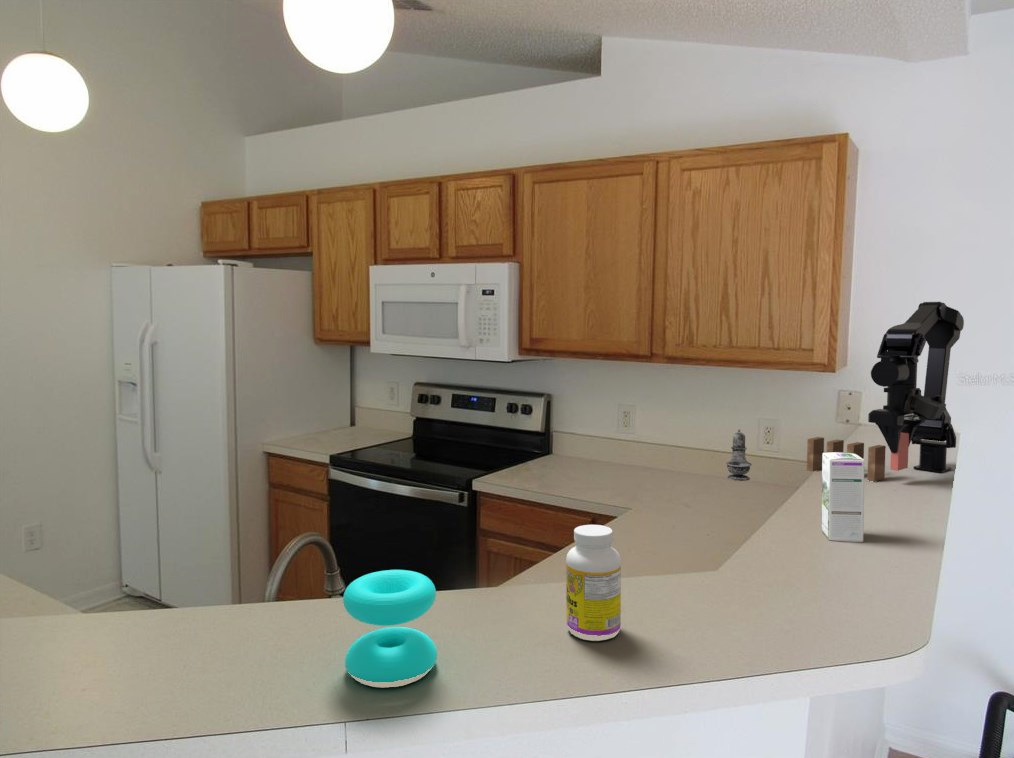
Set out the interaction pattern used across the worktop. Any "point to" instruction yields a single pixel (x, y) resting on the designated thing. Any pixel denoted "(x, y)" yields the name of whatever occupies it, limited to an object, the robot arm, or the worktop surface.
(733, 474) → the salt shaker
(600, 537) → the supplement bottle
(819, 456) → the domino
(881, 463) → the domino
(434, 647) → the teal rings
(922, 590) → the worktop surface
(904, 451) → the domino
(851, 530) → the syrup box
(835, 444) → the domino
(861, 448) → the domino
